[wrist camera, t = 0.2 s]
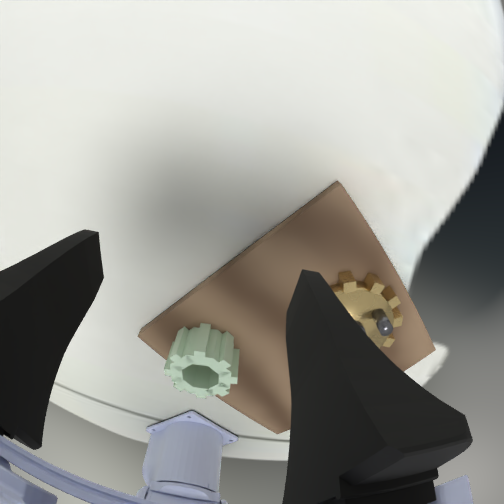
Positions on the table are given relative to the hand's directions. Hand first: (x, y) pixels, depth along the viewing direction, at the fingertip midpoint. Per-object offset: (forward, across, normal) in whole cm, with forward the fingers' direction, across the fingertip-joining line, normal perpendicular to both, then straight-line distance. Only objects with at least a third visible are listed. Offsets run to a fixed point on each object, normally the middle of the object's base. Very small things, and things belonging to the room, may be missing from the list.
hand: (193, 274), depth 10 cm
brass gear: (+8, -11, +9) cm, 16 cm away
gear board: (+9, -8, +13) cm, 18 cm away
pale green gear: (+8, 0, +14) cm, 16 cm away
